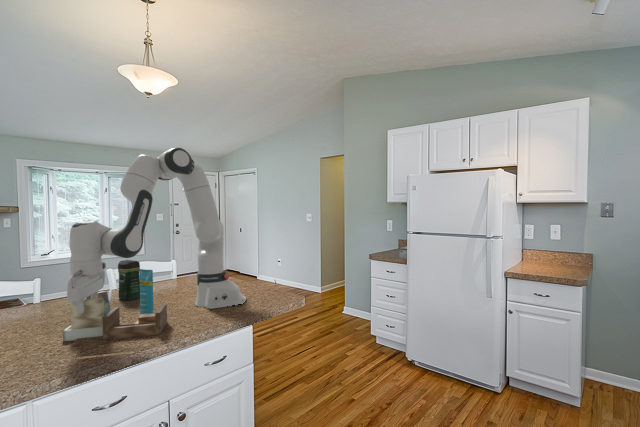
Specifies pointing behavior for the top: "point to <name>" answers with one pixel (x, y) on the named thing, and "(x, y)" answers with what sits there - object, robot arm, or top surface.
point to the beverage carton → (106, 301)
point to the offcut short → (147, 318)
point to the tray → (81, 333)
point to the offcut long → (143, 323)
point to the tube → (146, 291)
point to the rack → (132, 325)
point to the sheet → (88, 314)
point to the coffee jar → (129, 280)
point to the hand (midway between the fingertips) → (87, 308)
